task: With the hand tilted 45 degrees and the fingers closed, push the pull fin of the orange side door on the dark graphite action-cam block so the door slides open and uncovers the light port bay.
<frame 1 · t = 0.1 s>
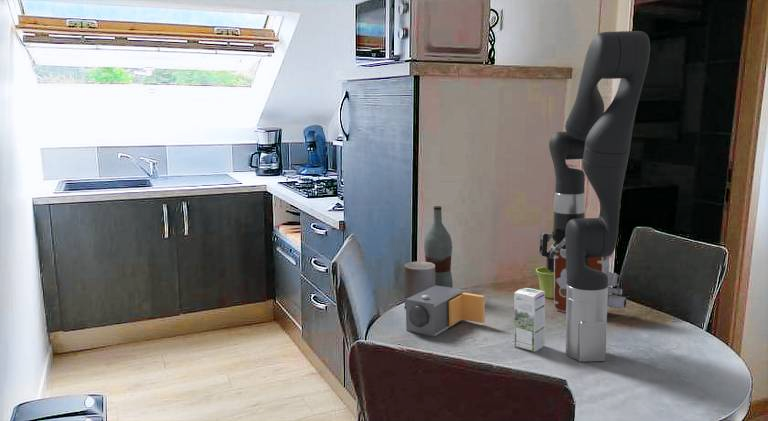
hand: (567, 271, 148), 17 cm above the table, tool pointing down, fingers open, 8 cm apart
plant pot: (550, 296, 185), on the table
door: (466, 310, 157), point 5 cm above the table, slide at 0.0 cm
pillar candle: (420, 308, 176), on the table
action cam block: (435, 324, 161), on the table
cine camera: (589, 313, 167), on the table
syrup box: (529, 347, 143), on the table
bottle: (438, 296, 188), on the table
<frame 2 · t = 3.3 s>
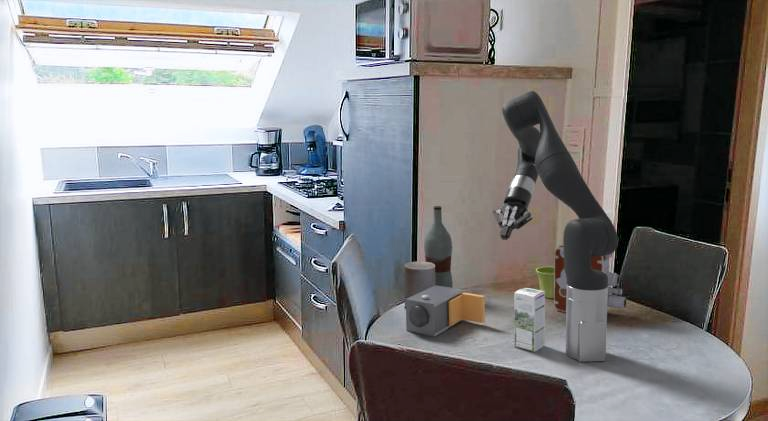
hand: (503, 238, 169), 22 cm above the table, tool tilted 45°, fingers closed
nothing on the table moved.
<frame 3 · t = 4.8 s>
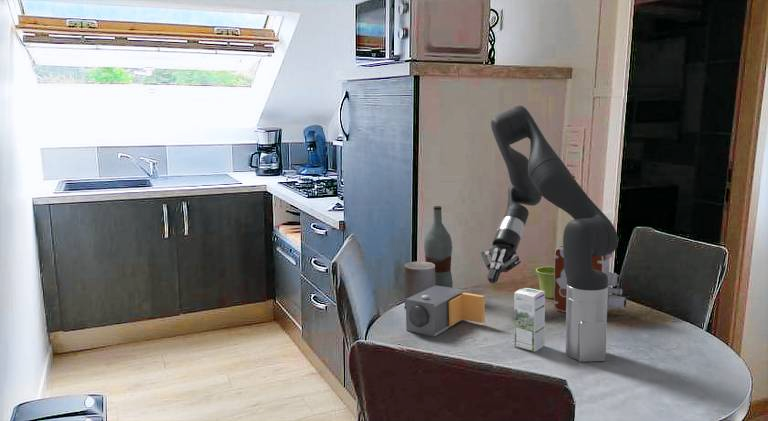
hand: (491, 281, 168), 10 cm above the table, tool tilted 45°, fingers closed
nothing on the table moved.
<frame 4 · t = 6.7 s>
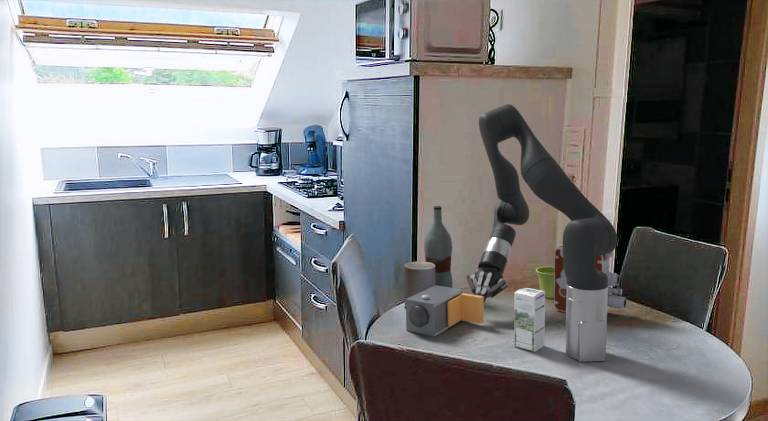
hand: (476, 307, 160), 5 cm above the table, tool tilted 45°, fingers closed
door: (465, 311, 157), point 5 cm above the table, slide at 0.7 cm, touching gripper
everything else where it was.
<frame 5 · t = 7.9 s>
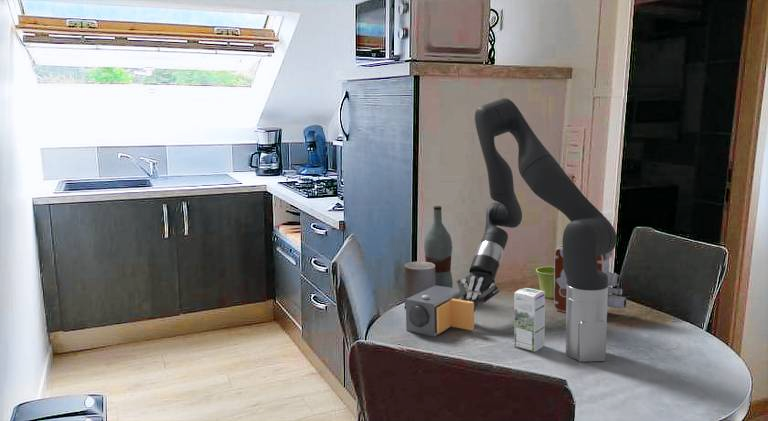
hand: (467, 313, 155), 5 cm above the table, tool tilted 45°, fingers closed
door: (455, 317, 152), point 5 cm above the table, slide at 6.6 cm, touching gripper
everything else where it was.
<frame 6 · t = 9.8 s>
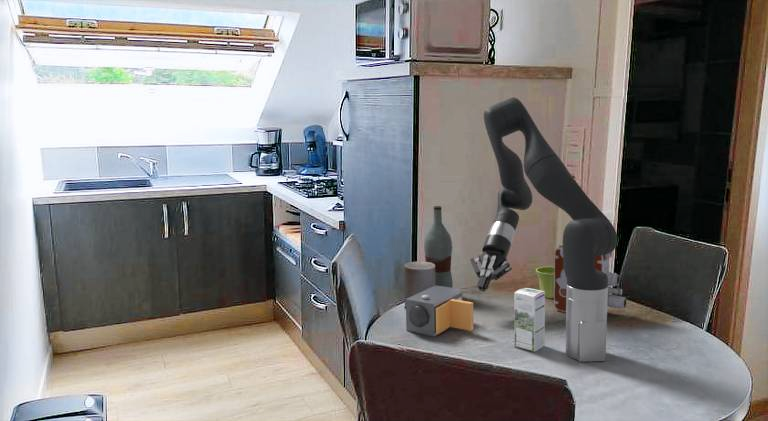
hand: (481, 289, 162), 9 cm above the table, tool tilted 45°, fingers closed
door: (454, 317, 152), point 5 cm above the table, slide at 7.0 cm
everything else where it was.
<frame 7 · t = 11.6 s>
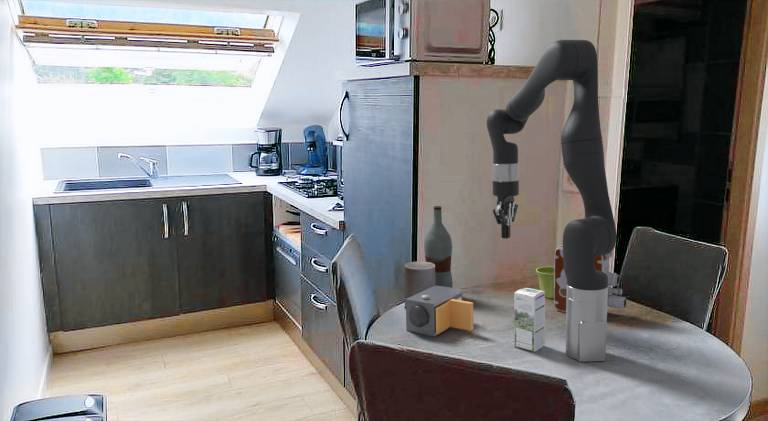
hand: (505, 237, 166), 23 cm above the table, tool pointing down, fingers closed
nothing on the table moved.
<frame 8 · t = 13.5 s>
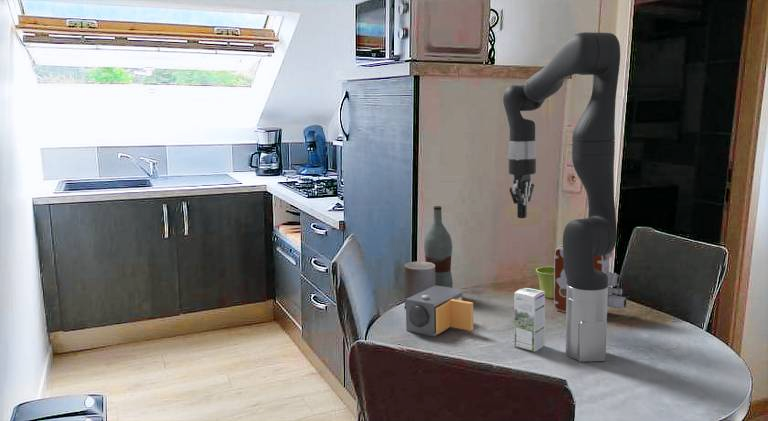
hand: (521, 217, 163), 29 cm above the table, tool pointing down, fingers closed
nothing on the table moved.
at the end: door slide at 7.0 cm; door touching nothing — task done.
